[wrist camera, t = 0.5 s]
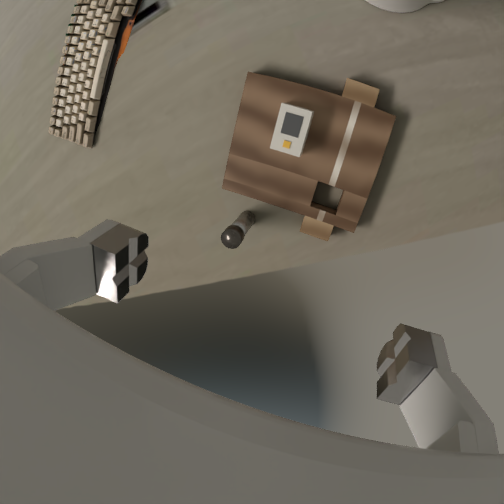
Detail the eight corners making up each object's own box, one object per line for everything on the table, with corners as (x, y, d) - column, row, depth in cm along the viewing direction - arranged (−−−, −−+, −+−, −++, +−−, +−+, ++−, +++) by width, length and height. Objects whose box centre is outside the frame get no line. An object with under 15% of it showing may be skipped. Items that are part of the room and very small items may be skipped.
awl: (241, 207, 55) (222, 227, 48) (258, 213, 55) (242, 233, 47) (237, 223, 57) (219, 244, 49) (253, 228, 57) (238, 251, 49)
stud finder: (285, 102, 43) (281, 102, 40) (314, 111, 42) (312, 111, 39) (274, 145, 46) (269, 148, 44) (302, 154, 46) (299, 157, 43)
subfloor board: (256, 56, 42) (252, 54, 40) (398, 98, 39) (401, 98, 37) (223, 199, 56) (218, 204, 53) (347, 242, 53) (347, 248, 51)
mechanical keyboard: (105, 152, 59) (95, 156, 56) (53, 132, 60) (43, 135, 57) (151, -18, 39) (142, -23, 36) (87, -16, 41) (77, -18, 38)
